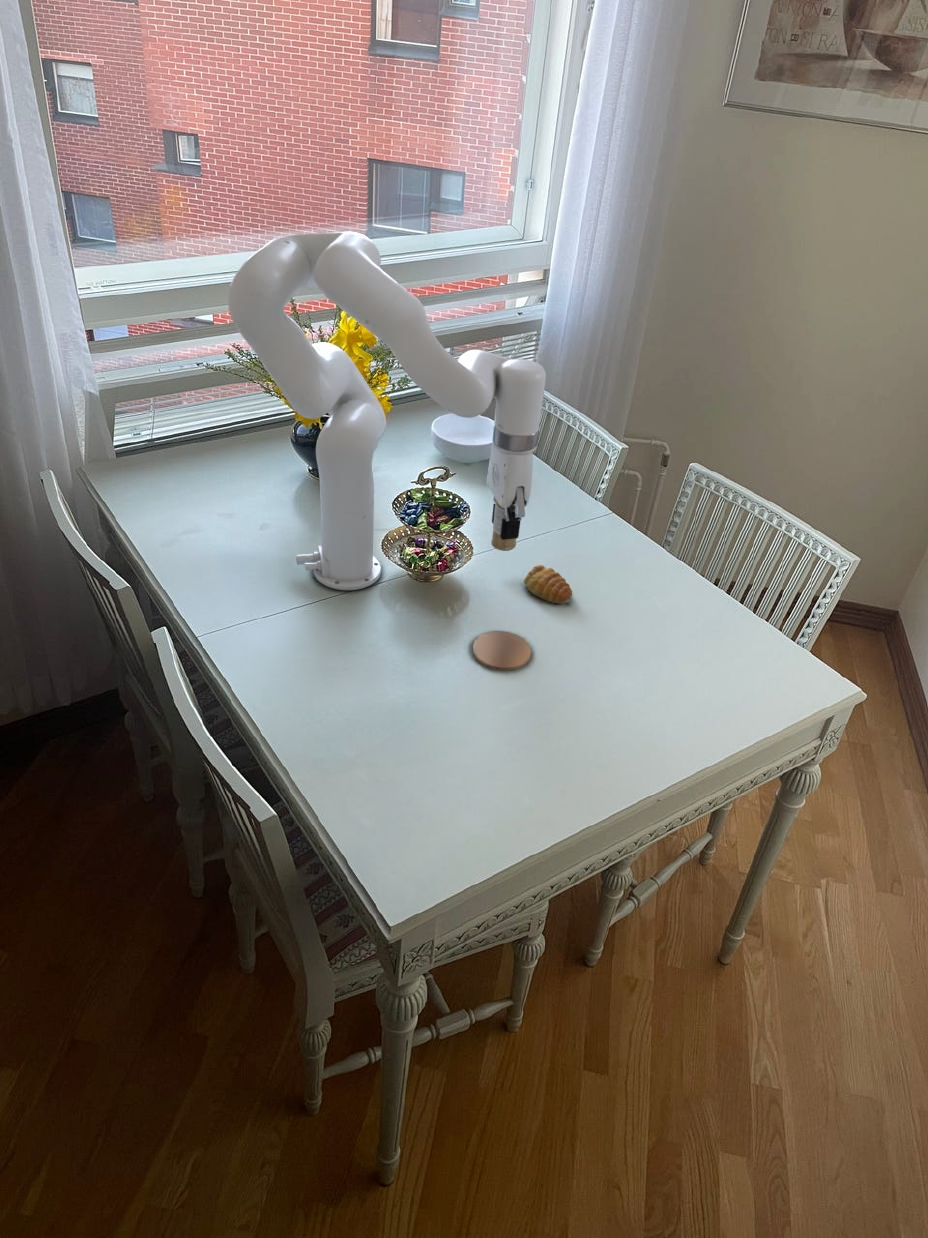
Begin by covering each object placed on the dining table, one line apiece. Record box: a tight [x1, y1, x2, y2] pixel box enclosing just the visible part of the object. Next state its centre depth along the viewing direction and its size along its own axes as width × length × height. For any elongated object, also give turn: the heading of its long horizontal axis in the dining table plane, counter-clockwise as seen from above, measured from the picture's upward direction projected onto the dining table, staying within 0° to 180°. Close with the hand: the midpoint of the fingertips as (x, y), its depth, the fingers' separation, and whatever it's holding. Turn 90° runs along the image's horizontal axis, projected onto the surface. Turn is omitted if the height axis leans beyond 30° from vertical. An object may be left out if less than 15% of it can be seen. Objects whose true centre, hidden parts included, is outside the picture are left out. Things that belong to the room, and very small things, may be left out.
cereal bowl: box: [430, 413, 494, 464], centre depth 215 cm, size 17×17×7 cm
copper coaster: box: [472, 630, 532, 671], centre depth 160 cm, size 10×10×1 cm
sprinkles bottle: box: [490, 500, 517, 552], centre depth 162 cm, size 5×5×13 cm
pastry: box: [523, 564, 573, 605], centre depth 174 cm, size 9×7×4 cm
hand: (504, 529), depth 164 cm, fingers closed on sprinkles bottle, 4 cm apart
